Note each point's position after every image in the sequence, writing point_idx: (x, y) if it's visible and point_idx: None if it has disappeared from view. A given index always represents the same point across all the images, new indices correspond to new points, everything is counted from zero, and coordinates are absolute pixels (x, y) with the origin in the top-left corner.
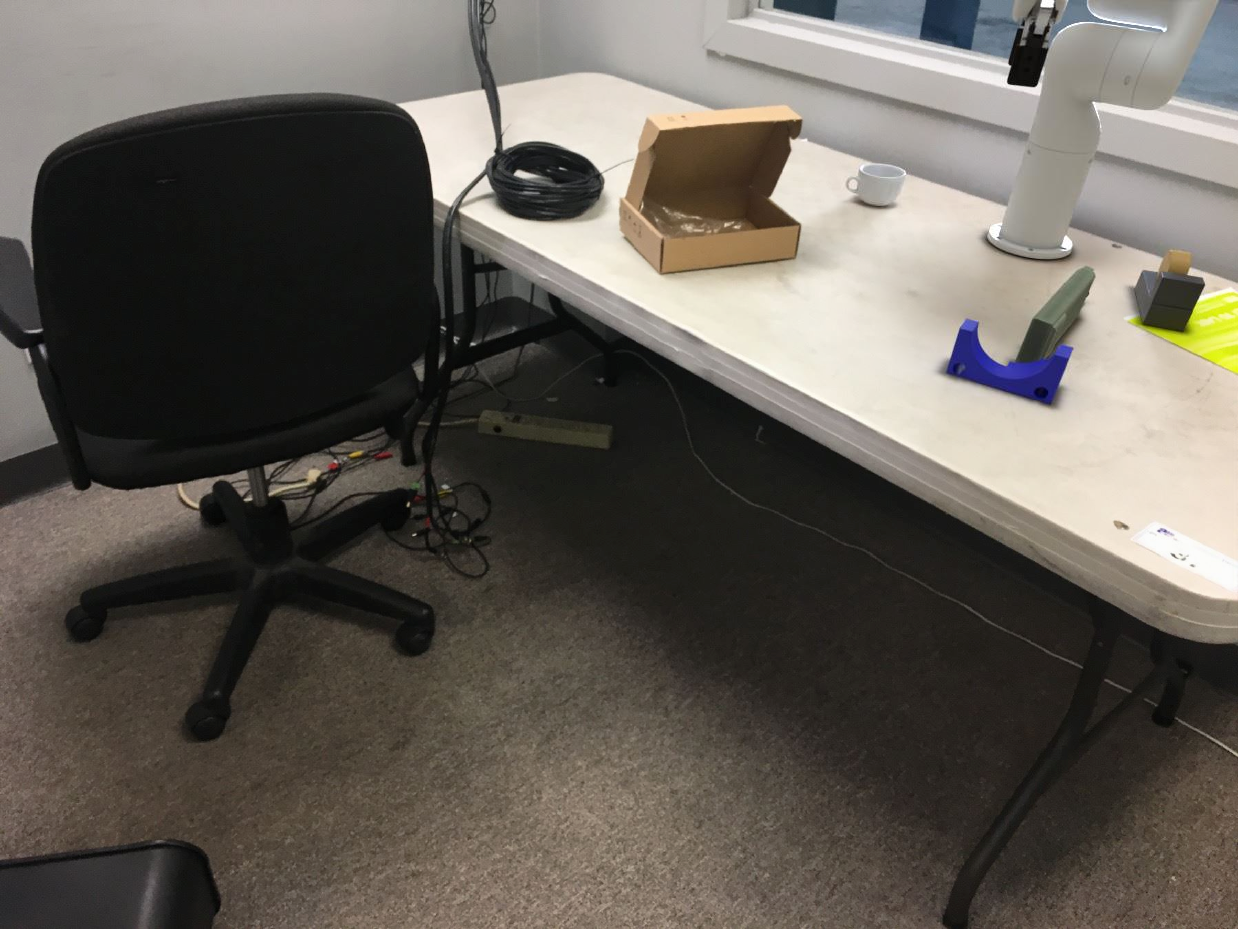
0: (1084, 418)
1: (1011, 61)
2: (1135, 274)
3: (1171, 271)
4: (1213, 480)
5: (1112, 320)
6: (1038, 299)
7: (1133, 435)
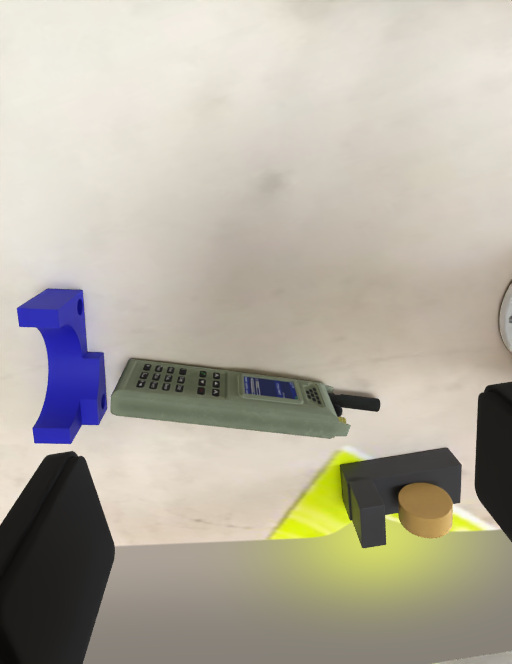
0: None
1: (485, 404)
2: None
3: (403, 511)
4: None
5: None
6: (351, 352)
7: None
